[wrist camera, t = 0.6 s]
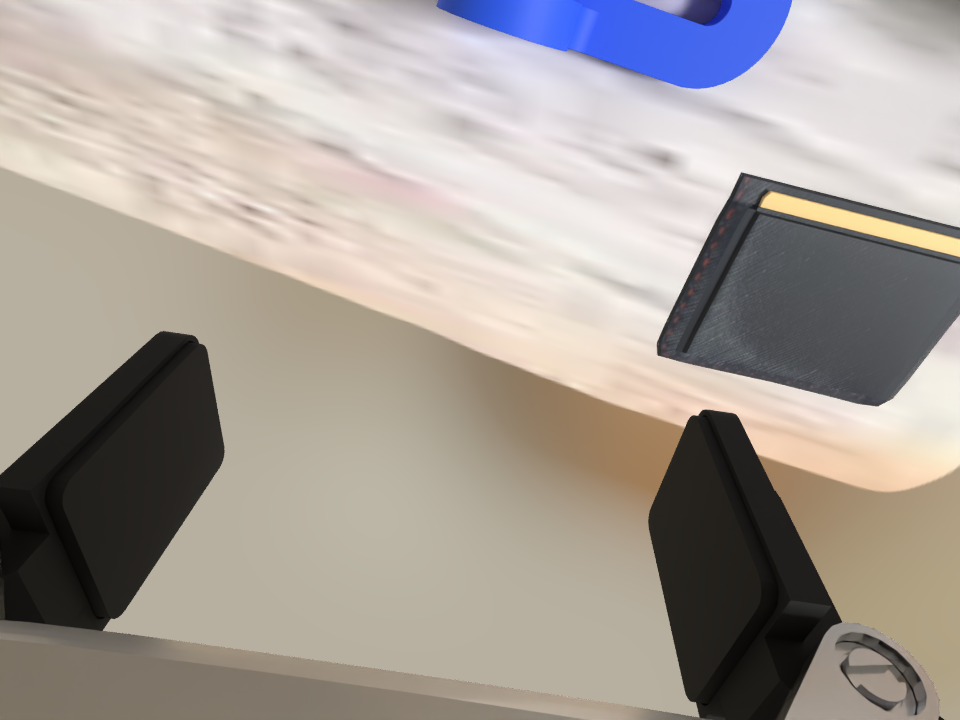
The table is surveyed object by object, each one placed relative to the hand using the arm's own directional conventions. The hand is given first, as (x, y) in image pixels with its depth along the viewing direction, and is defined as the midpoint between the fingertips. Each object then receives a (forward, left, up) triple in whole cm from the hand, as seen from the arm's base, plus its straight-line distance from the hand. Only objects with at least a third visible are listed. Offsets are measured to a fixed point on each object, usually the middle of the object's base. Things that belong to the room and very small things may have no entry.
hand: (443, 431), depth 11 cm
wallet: (+4, +26, -31) cm, 41 cm away
